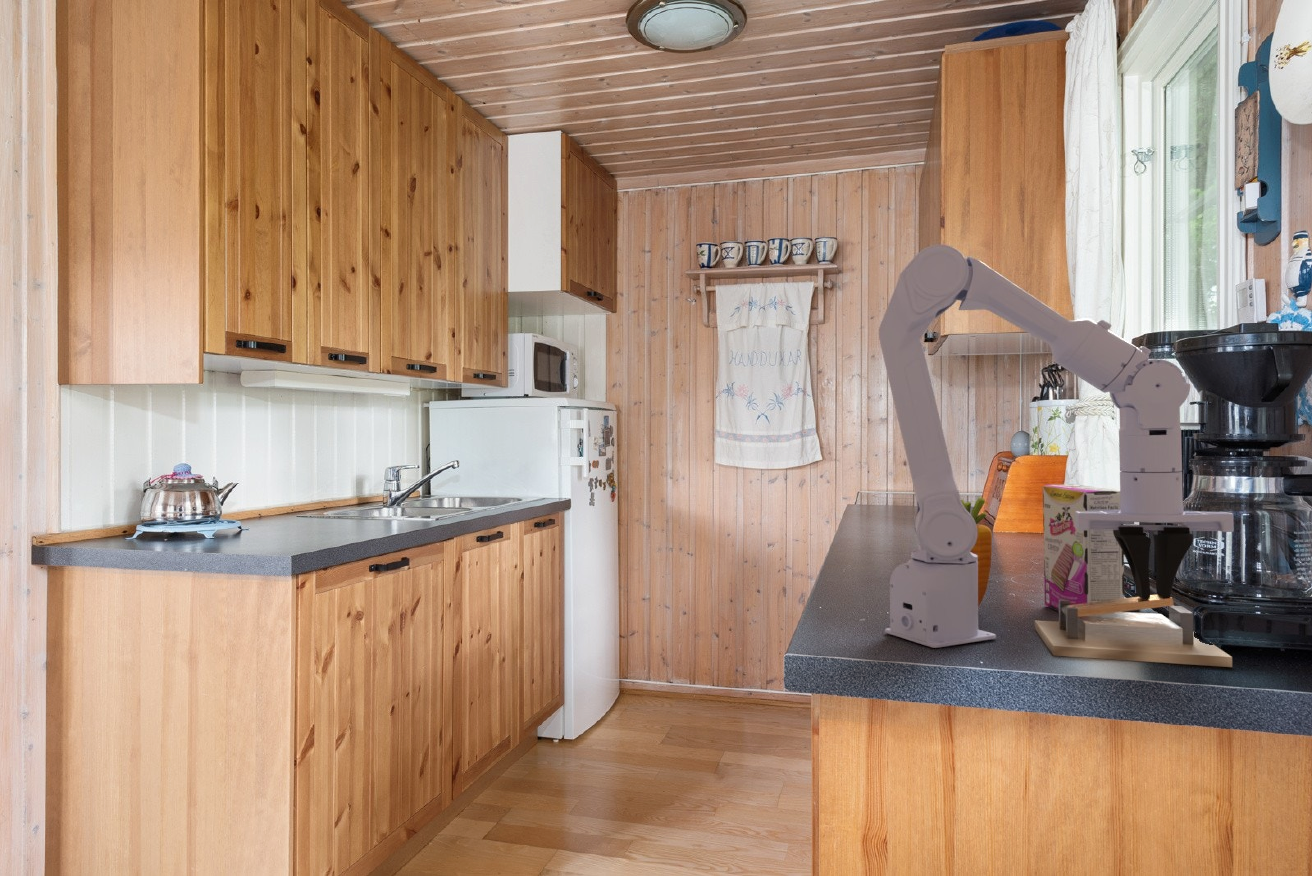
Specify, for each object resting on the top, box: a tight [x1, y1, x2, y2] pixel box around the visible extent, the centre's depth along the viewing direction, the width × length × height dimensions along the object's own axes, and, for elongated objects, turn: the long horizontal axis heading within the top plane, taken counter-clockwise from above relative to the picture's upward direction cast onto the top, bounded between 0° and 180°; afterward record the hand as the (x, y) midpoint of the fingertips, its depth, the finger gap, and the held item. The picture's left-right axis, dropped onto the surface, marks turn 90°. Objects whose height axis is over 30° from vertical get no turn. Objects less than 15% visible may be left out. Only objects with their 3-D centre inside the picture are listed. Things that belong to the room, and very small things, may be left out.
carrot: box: [961, 497, 993, 608], centre depth 104 cm, size 5×5×15 cm
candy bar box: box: [1042, 484, 1126, 613], centre depth 101 cm, size 11×5×16 cm, turn 179°
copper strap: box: [1061, 593, 1175, 617], centre depth 87 cm, size 10×2×1 cm, turn 73°
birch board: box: [1034, 619, 1233, 668], centre depth 86 cm, size 16×12×1 cm
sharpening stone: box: [1058, 599, 1195, 648], centre depth 86 cm, size 12×7×3 cm, turn 73°
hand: (1153, 597), depth 86 cm, fingers closed
